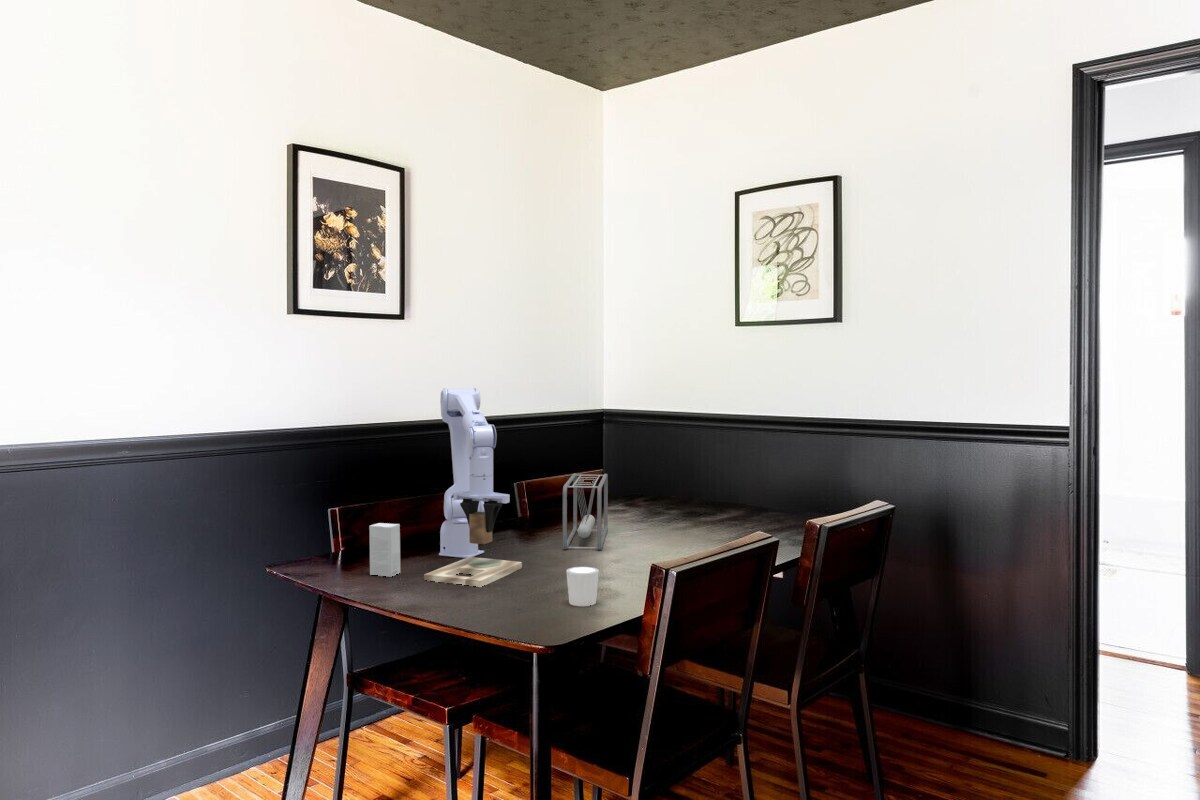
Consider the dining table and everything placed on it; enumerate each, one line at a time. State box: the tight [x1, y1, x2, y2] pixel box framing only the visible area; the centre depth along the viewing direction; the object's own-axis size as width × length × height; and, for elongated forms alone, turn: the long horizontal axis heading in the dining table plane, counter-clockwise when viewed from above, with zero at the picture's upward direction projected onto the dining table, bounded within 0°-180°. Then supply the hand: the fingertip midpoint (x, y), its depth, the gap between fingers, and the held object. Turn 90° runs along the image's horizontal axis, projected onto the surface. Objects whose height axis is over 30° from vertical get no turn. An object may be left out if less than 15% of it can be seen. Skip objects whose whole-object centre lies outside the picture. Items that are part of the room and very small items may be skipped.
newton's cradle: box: [562, 472, 609, 551], centre depth 244 cm, size 30×10×18 cm, turn 176°
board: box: [423, 556, 523, 588], centre depth 203 cm, size 15×20×2 cm
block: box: [469, 511, 493, 545], centre depth 206 cm, size 4×4×7 cm
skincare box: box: [368, 522, 401, 578], centre depth 203 cm, size 6×4×12 cm
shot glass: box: [566, 566, 600, 607], centre depth 179 cm, size 7×7×7 cm
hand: (481, 530), depth 206 cm, fingers closed on block, 4 cm apart
